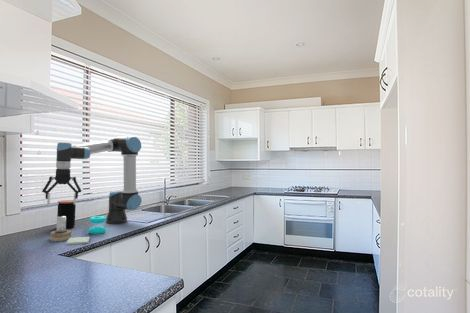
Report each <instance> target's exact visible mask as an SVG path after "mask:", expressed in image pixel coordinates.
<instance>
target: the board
mask: <svg viewBox="0 0 470 313" xmlns="http://www.w3.org/2000/svg"><path fill="white" fill-rule="evenodd" d="M90 239H91V236H79V237H78V236H77V237H71V238H69V239H68V240H66V243H65V244H66V246H68V245H69V246H70V245H81V244H82V245H83V244H84V245H85V244H89V242H90Z"/></svg>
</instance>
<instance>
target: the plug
mask: <svg viewBox="0 0 470 313" xmlns="http://www.w3.org/2000/svg"><path fill="white" fill-rule="evenodd" d="M66 230H67V229H66V216H58V217H57V216H56V230H55V231H56V233H65V232H66Z"/></svg>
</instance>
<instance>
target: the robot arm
mask: <svg viewBox="0 0 470 313" xmlns="http://www.w3.org/2000/svg"><path fill="white" fill-rule="evenodd" d="M56 144H57V146H56V158H55V159H56V160H55V161H56V162H55V164H56V166H55V168H56V169H55V176H49V178H48V181H47V182H46V184H45V186H44V188H43V189H42V191H41V192H42V193H44V194H45V199H46V200H47V203H46V204H47V206H49V205H50V203H51V193H50V192H51V191H52V190H53V189H54V188H55V187H56V186H57V185H68V187H69V188H70V189H71V190H72V191H73V192H74V193H73V200H74V204H76V203H77V201H76V199H79V193H81V192H82V189H81V187H80V184H79V183H78V181H77V177H76V176H72V177H71V165H72V159H73V160H87V159H89V158H90V157H91V155H94V154H98V153H103V152H104V153H105V152H108V153H111V152H113V153H114V152H116V153H117V152H120V155H121V156H122V158H123V190H119V191H111V192H109V193H108V195H109V196H108V212H107V215H106V216H105V217H106V221H105V223H107V224H123V223H127V222H128V217H127V213H126V210H128V211H136V210H138V208H139V207H140V206H141V205H142V196H141V195H139V190H137V156H138V155H139V152H140V151H141V149H142V143H141V140H140V139H139V138H138V137H137V136H134V135H132V136H131V135H130V136H129V135H126V136H125V135H124V136H123V135H121V136H116V137H111V138H106V139H105V140H101V141H96V142H94V141H93V142H89V143H81V144H76V145H72V143H71V142H58V143H56ZM54 180H55V182H54V183H53V184H52V185H51V183H52V181H54ZM71 181H73V184H74V185H75V186H74V185H73V184H72V183H71ZM50 185H51V186H50ZM49 186H50V187H49Z"/></svg>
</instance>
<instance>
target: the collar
mask: <svg viewBox="0 0 470 313" xmlns="http://www.w3.org/2000/svg"><path fill="white" fill-rule="evenodd" d="M49 237H50V241H53V242H62V241H63V240H64V241H68V239H69V238H72V230H71V229H70V230H69V229H66V232H65V233H56V230H53V231H51V232H50V236H49Z"/></svg>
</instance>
